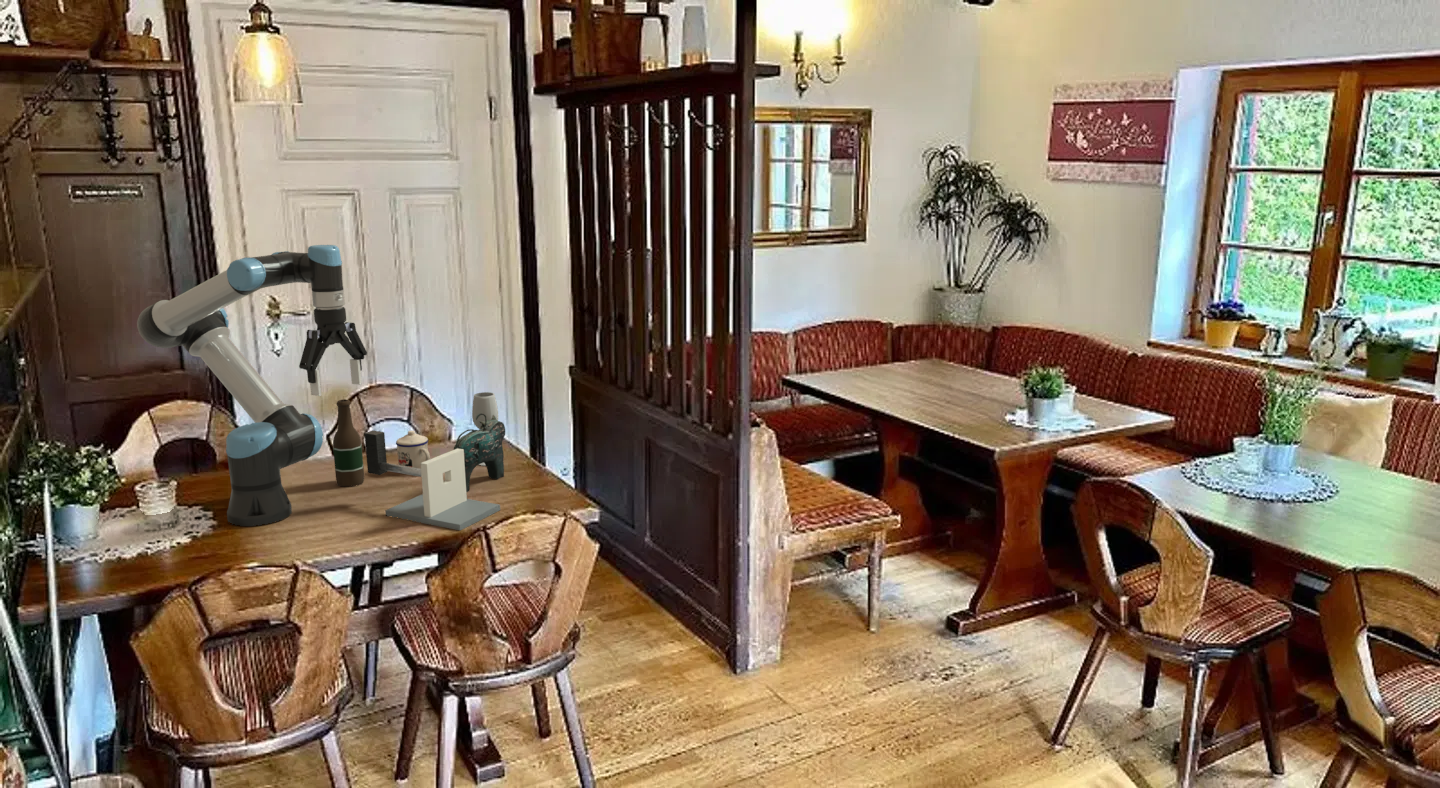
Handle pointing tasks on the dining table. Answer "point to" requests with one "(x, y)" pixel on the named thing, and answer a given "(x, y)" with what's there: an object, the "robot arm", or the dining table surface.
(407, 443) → the teacup with lid
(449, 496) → the panel with square hole
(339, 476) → the beer bottle
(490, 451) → the green animal figurine
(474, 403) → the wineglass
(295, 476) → the dining table surface
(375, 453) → the hook rod
